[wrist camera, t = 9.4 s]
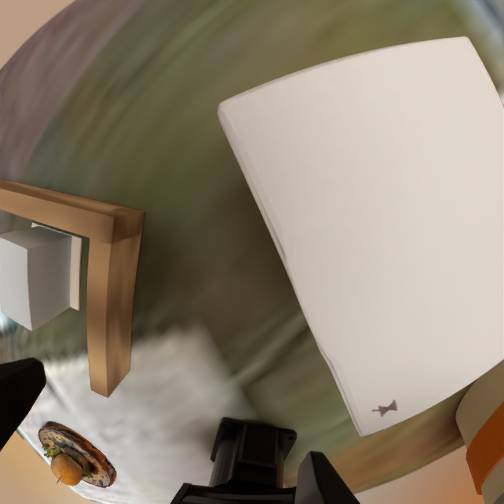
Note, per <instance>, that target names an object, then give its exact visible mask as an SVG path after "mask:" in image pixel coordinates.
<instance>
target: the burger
mask: <svg viewBox="0 0 504 504" xmlns="http://www.w3.org/2000/svg"><path fill="white" fill-rule="evenodd" d="M38 436H39V439H40V442H41V443H42V445H43V446H42V448H44V450H45V451H46V450H47V452H48V453H46V454H44V456H47V454H48V456H47V458H49V457H50V456H51V457H52V461H51V469H52V472H53V473H54V475H55V476H56V477H57V478H58V479H59V480H60V481H61V482H63V483H64V484H67V485H71V486H73V485H77V484H78V483H79V482H80V481H81V480H83V481H85V482H87V483H89V484H93V485H95V486H98V487H102V488H106V487H107V486H108V487H110V485H112V484H113V483H114V481H115V477H116V471H115V468H112V467H111V465H108V463H107V462H106V458H105V455H103V454H102V453H101V452H100V451H99V450H97V449H94V448H92V446H91V443H90V442H89V441H87V440H86V439H85V438H84V437H82V436H81V435H79V434H78V433H76V432H74V431H73V430H71V429H69V428H67V427H65V426H64V425H62V424H59V423H56V422H51V421H48V423H46V426H45V428H44V427H43V428H41V429H40V430H39V434H38ZM59 480H58V481H59Z"/></svg>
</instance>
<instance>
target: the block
mask: <svg viewBox="0 0 504 504" xmlns="http://www.w3.org/2000/svg"><path fill="white" fill-rule="evenodd" d="M71 246H72V236H70V235H67V234H63V233H60V232H57V231H54V230H51V229H48V228H45V227H42V226H36V227H31V228H27V229H22V230H18V231H13V232H9V233H5V234H1V235H0V308H1V312H2V313H4V314H5V315H7V316H8V317H10V318H11V319H13V320H14V321H16V322H18V323H19V324H21V325H22V326H24V327H26V328H27V329H29V330H31V331H33V330H35V329H37V328H38V327H40V326H41V325H43V324H44V323H46V322H47V321H49V320H51V319H52V318H54V317H55V316H57V315H59V314H60V313H62V312H63V311H65V310H67V309H68V308H70V266H71Z"/></svg>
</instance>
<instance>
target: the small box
mask: <svg viewBox="0 0 504 504" xmlns="http://www.w3.org/2000/svg"><path fill="white" fill-rule="evenodd" d="M217 115H218V118H219V121H220V124H221V126H222V128H223V131H224V133H225V135H226V137H227V140H228V142H229V144H230V146H231V148H232V150H233V152H234V155H235V157H236V159H237V161H238V163H239V166H240V168H241V170H242V172H243V174H244V176H245V179H246V181H247V183H248V185H249V187H250V190H251V192H252V194H253V196H254V199H255V201H256V203H257V205H258V208H259V210H260V212H261V214H262V217H263V219H264V221H265V223H266V226H267V228H268V230H269V232H270V235H271V237H272V239H273V242H274V244H275V246H276V249H277V251H278V253H279V255H280V258H281V260H282V262H283V265H284V267H285V269H286V272H287V274H288V276H289V279H290V281H291V284H292V286H293V289H294V291H295V293H296V296H297V298H298V301H299V303H300V306H301V308H302V311H303V313H304V316H305V318H306V320H307V323H308V325H309V327H310V329H311V331H312V333H313V336H314V338H315V341H316V344H317V346H318V348H319V350H320V352H321V354H322V356H323V357H324V359H325V360H326V362H327V364H328V366H329V368H330V370H331V372H332V375H333V377H334V379H335V382H336V384H337V386H338V389H339V391H340V393H341V396H342V398H343V400H344V403H345V405H346V407H347V410H348V412H349V414H350V417H351V419H352V421H353V423H354V426H355V428H356V430H357V433H358V435H359V436H360V437H364V436H367V435H369V434H372V433H375V432H377V431H380V430H382V429H385V428H388V427H390V426H392V425H395V424H397V423H399V422H402V421H404V420H406V419H408V418H410V417H412V416H415V415H417V414H419V413H421V412H422V411H424V410H426V409H428V408H430V407H432V406H434V405H436V404H437V403H439V402H441V401H443V400H444V399H446V398H448V397H449V396H451V395H453V394H454V393H456V392H458V391H459V390H461V389H462V388H464V387H466V386H467V385H469V384H470V383H472V382H473V381H475V380H476V379H478V378H479V377H480V376H482V375H483V374H485V373H486V372H487V371H489V370H490V369H491V368H493V367H494V366H495V365H497V364H498V363H499V362H501V361H502V360H503V359H504V106H503V104H502V101H501V99H500V97H499V95H498V92H497V90H496V88H495V86H494V84H493V82H492V80H491V78H490V76H489V74H488V72H487V70H486V68H485V66H484V64H483V63H482V61H481V59H480V57H479V55H478V54H477V52H476V50H475V48H474V47H473V45H472V43H471V41H470V40H469V38H467V37H455V38H445V39H436V40H428V41H420V42H413V43H407V44H401V45H395V46H390V47H385V48H380V49H376V50H371V51H367V52H363V53H358V54H354V55H351V56H347V57H343V58H339V59H336V60H332V61H329V62H326V63H322V64H319V65H316V66H313V67H310V68H306V69H303V70H300V71H297V72H294V73H292V74H289V75H286V76H283V77H280V78H278V79H275V80H272V81H270V82H267V83H265V84H262V85H260V86H257V87H255V88H252V89H250V90H247V91H245V92H243V93H240V94H238V95H236V96H233V97H231V98H229V99H226V100H224V101H222V102H221V103H220V104H219V105H218V110H217Z"/></svg>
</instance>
